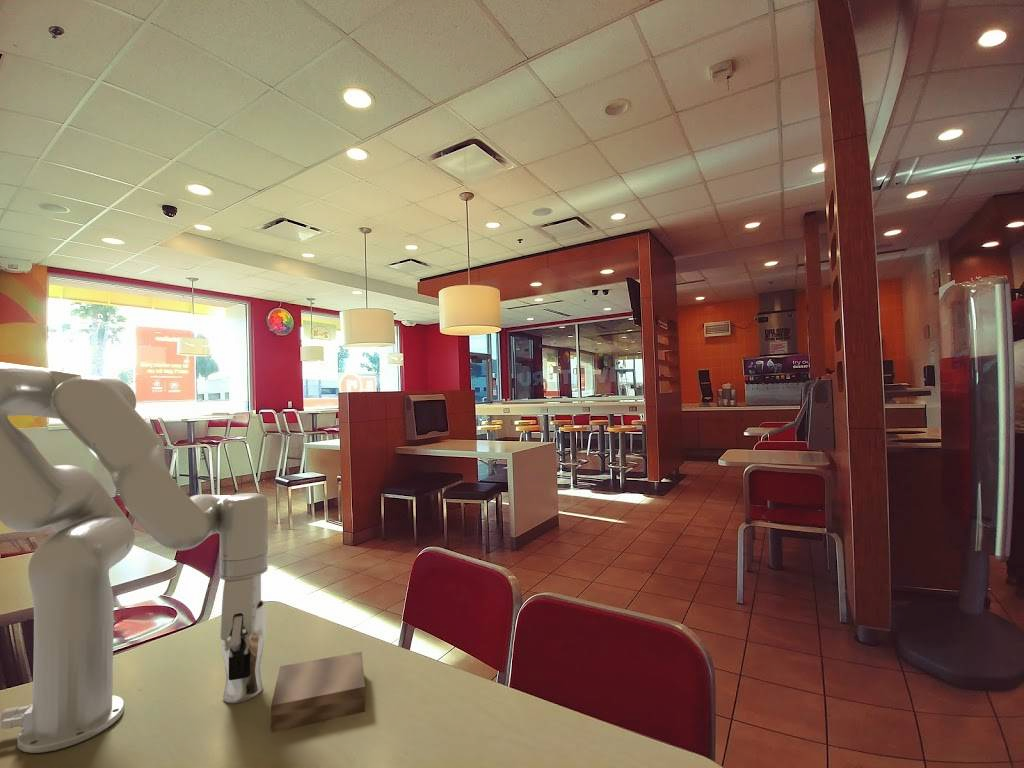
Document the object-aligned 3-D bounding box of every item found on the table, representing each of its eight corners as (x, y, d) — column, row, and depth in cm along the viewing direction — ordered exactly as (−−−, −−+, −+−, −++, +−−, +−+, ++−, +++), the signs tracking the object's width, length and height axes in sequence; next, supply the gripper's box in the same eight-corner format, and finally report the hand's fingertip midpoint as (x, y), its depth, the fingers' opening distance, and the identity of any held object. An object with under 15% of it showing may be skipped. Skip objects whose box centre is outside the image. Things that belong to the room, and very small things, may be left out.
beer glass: (273, 682, 88) (273, 599, 89) (249, 706, 81) (249, 615, 82) (237, 681, 89) (238, 598, 90) (210, 704, 82) (211, 614, 83)
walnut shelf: (270, 732, 75) (271, 705, 75) (280, 689, 86) (280, 666, 86) (365, 711, 80) (364, 686, 80) (361, 673, 91) (361, 651, 91)
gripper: (230, 553, 93) (229, 648, 92) (207, 584, 76) (206, 700, 76) (273, 548, 95) (273, 641, 95) (259, 578, 79) (259, 690, 78)
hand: (243, 666), depth 85 cm, fingers closed on beer glass, 6 cm apart
